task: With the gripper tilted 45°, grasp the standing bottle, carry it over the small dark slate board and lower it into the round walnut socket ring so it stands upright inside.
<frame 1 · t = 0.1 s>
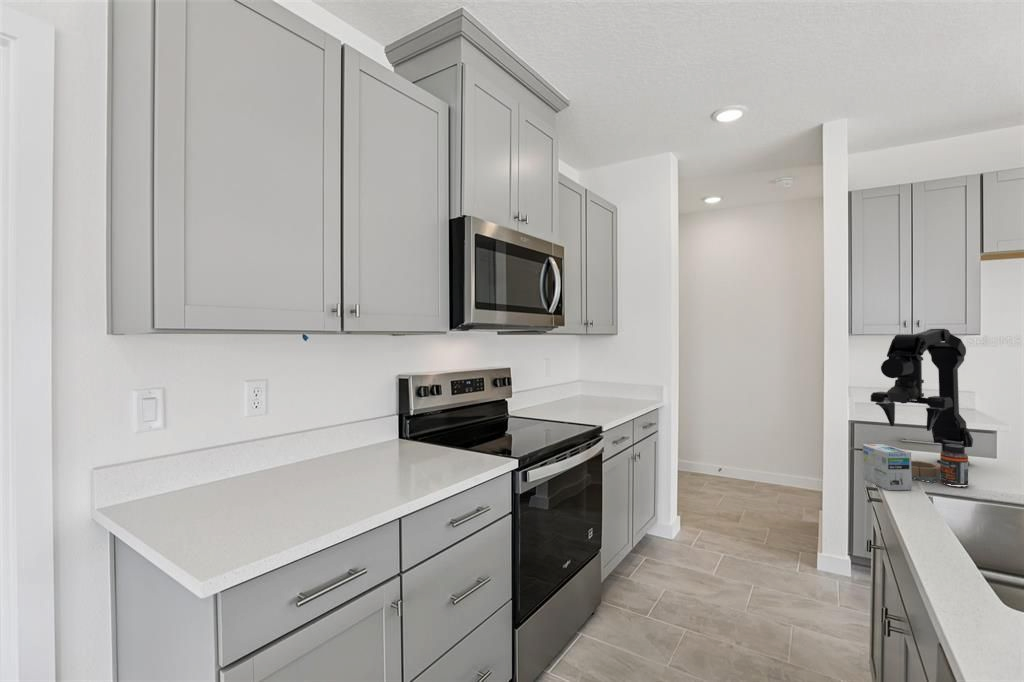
hand: (910, 428, 149), 15 cm above the worktop, tool pointing down, fingers open, 9 cm apart
bottle socket: (919, 476, 150), on the worktop
supplement bottle: (954, 485, 141), on the worktop
light bulb box: (886, 485, 143), on the worktop
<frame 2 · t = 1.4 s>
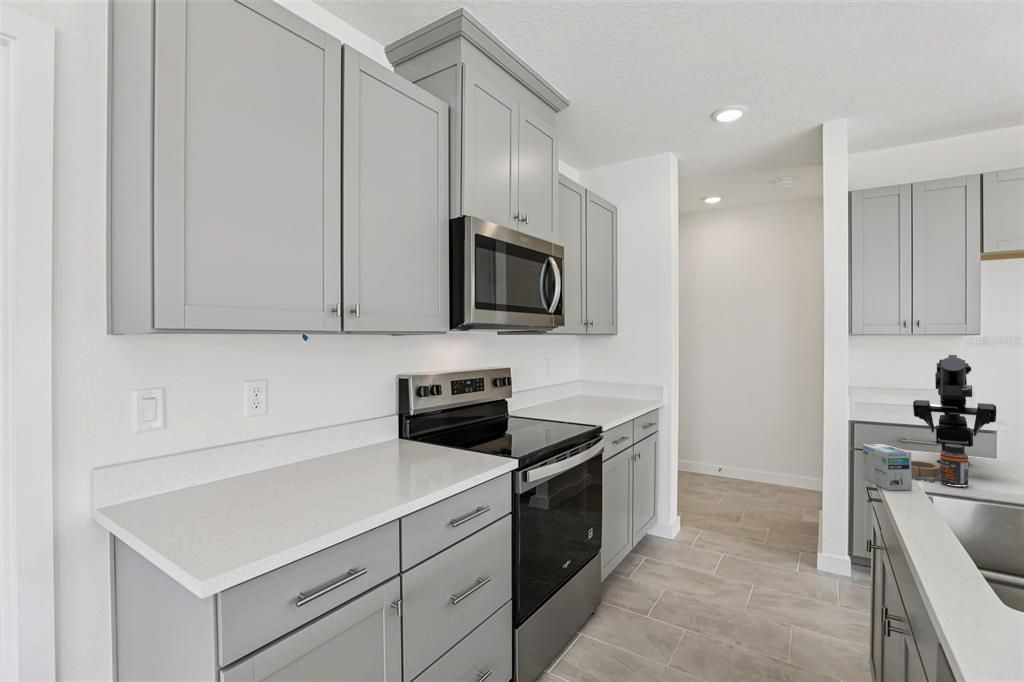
hand: (953, 433, 147), 13 cm above the worktop, tool tilted 45°, fingers open, 9 cm apart
nothing on the worktop moved.
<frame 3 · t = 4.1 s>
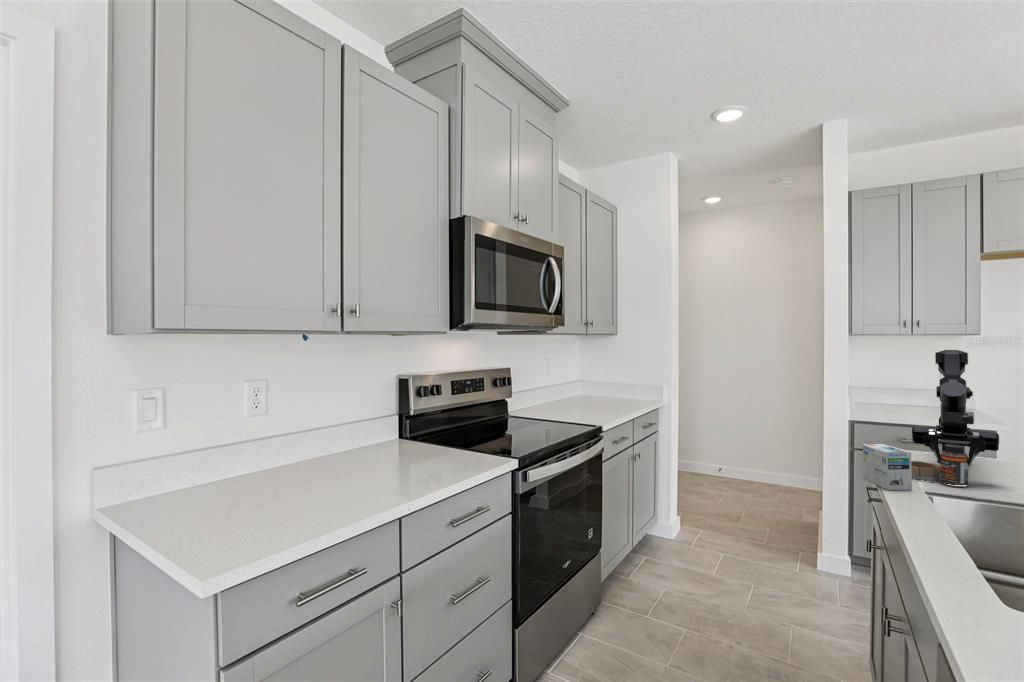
hand: (954, 462, 140), 7 cm above the worktop, tool tilted 45°, fingers closed on supplement bottle, 6 cm apart
supplement bottle: (954, 485, 141), on the worktop, touching gripper
everything else where it was.
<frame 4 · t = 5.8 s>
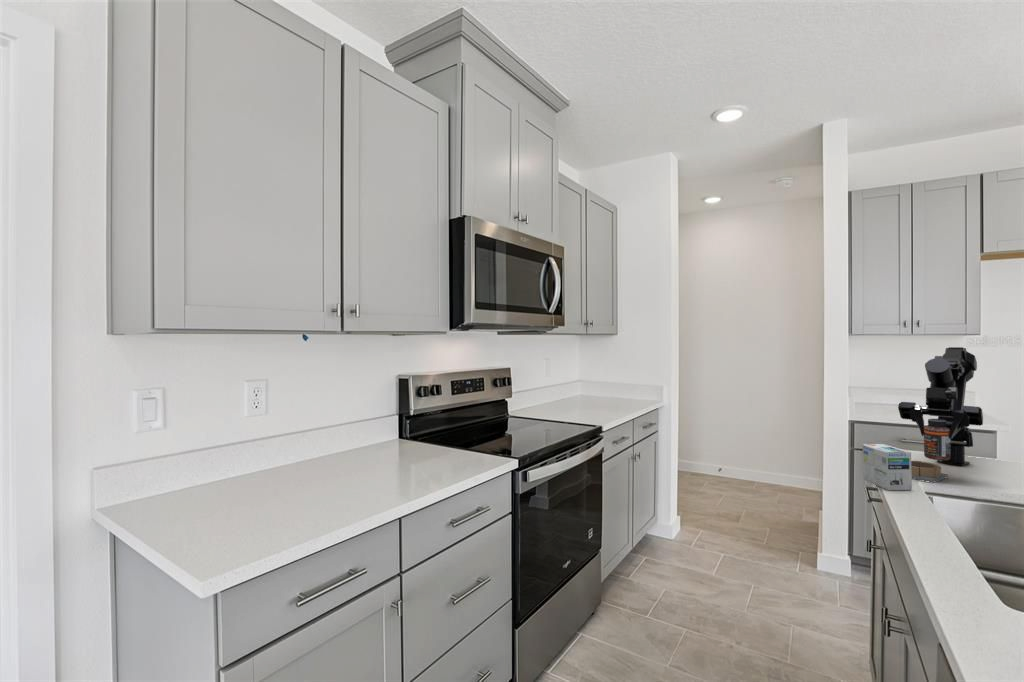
hand: (936, 436, 144), 13 cm above the worktop, tool tilted 45°, fingers closed on supplement bottle, 6 cm apart
supplement bottle: (937, 459, 145), point 6 cm above the worktop, touching gripper
everything else where it was.
when the fingers open (9 cm above the worktop, at t = 7.8 s): supplement bottle stays where it is, resting on bottle socket.
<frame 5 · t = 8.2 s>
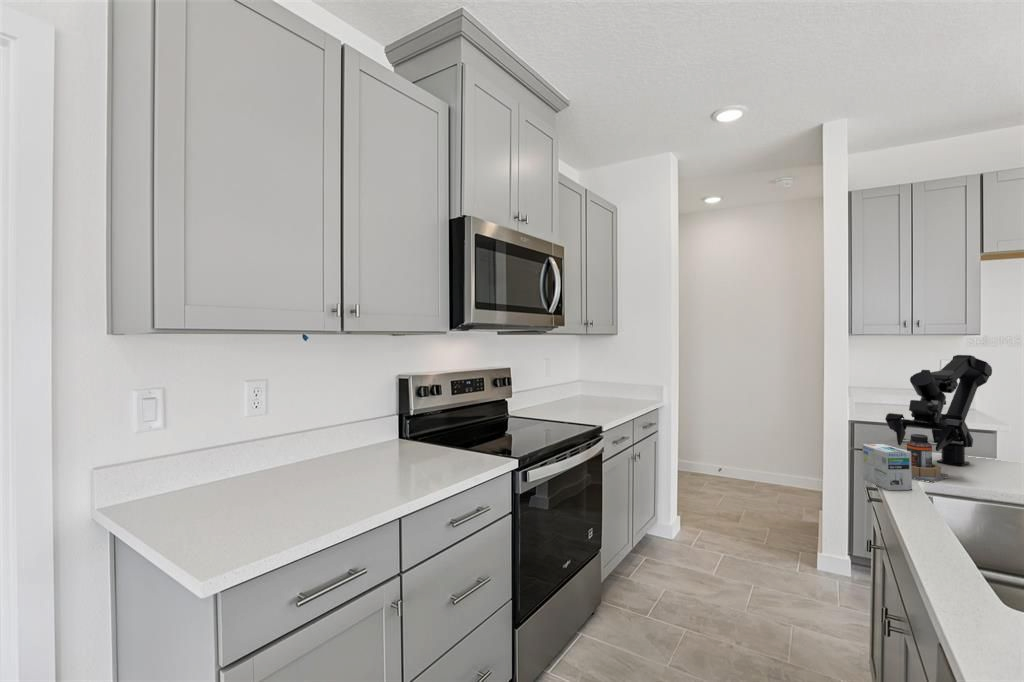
hand: (917, 447, 149), 9 cm above the worktop, tool tilted 45°, fingers open, 9 cm apart
supplement bottle: (919, 473, 150), point 1 cm above the worktop, touching bottle socket
everything else where it was.
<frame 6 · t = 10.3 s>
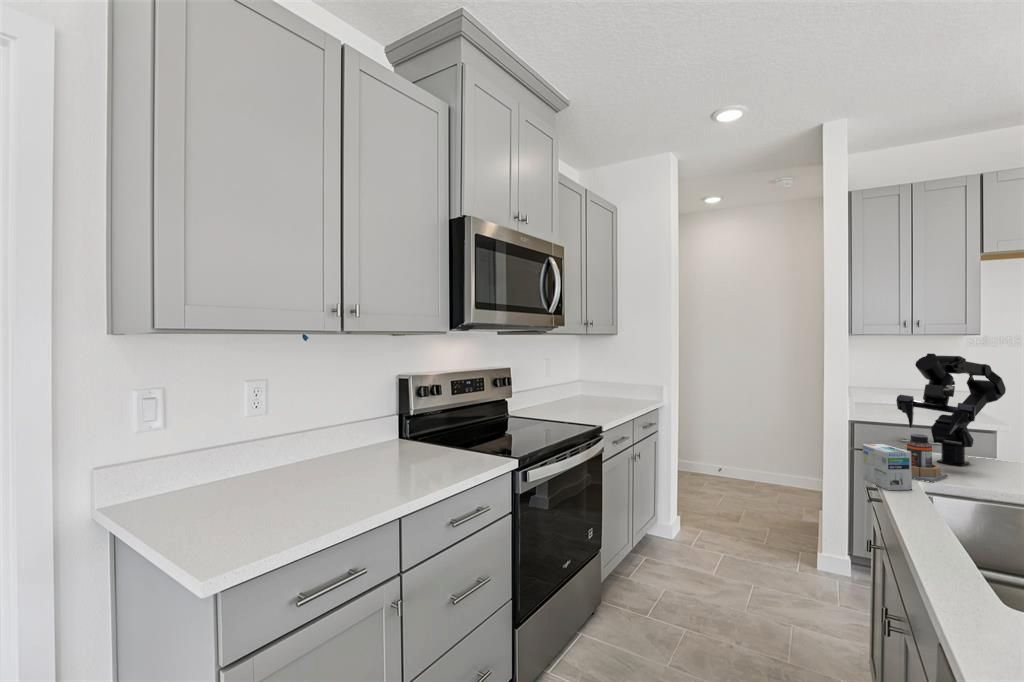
hand: (929, 430, 153), 13 cm above the worktop, tool tilted 40°, fingers open, 9 cm apart
nothing on the worktop moved.
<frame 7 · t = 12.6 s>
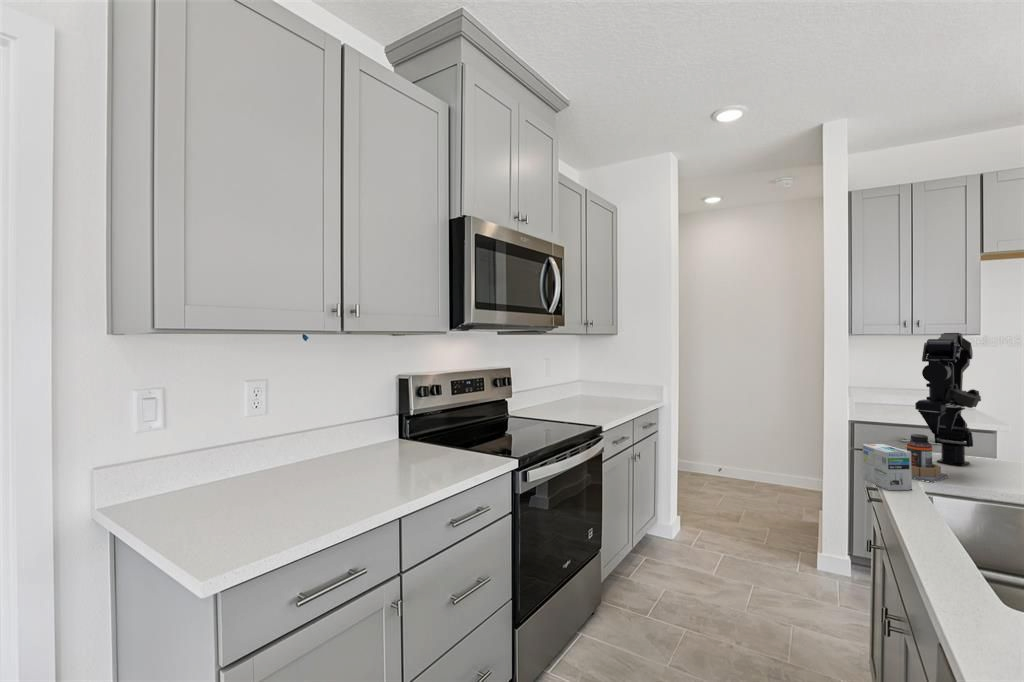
hand: (942, 431, 151), 13 cm above the worktop, tool pointing down, fingers open, 9 cm apart
nothing on the worktop moved.
at the end: supplement bottle 0.2 cm off-centre on the bottle socket, point 0.8 cm above the bottle socket's base; supplement bottle tilted 0°; the gripper is holding nothing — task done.
